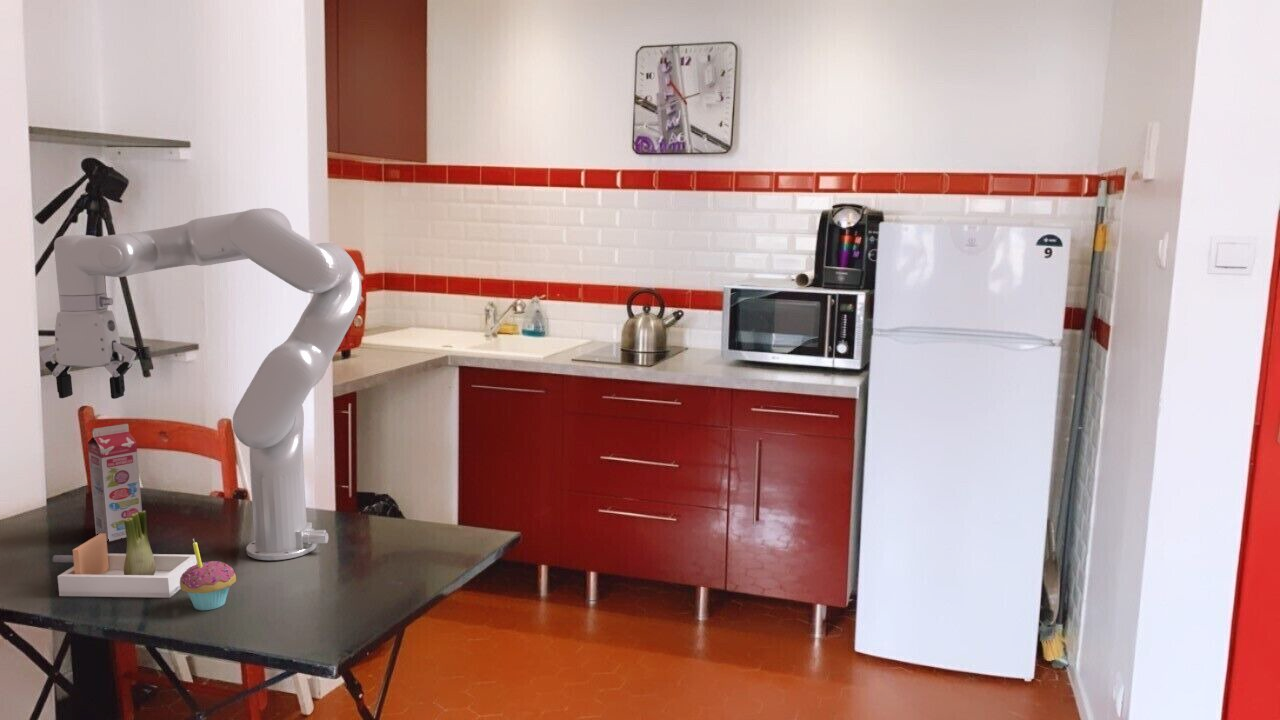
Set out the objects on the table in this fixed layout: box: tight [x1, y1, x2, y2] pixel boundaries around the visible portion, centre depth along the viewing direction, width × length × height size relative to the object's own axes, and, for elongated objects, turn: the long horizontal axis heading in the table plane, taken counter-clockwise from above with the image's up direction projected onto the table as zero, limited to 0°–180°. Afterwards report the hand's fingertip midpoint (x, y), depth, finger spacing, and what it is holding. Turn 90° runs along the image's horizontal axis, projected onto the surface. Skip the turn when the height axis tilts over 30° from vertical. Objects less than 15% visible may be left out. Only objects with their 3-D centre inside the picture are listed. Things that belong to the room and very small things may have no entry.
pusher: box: [52, 533, 109, 575], centre depth 177 cm, size 7×8×7 cm
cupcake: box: [180, 538, 237, 611], centre depth 168 cm, size 9×8×12 cm
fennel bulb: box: [124, 510, 156, 575], centre depth 176 cm, size 6×5×12 cm
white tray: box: [57, 553, 197, 599], centre depth 177 cm, size 19×11×4 cm, turn 88°
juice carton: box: [87, 423, 143, 542], centre depth 202 cm, size 7×7×22 cm
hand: (91, 397), depth 186 cm, fingers open, 9 cm apart
